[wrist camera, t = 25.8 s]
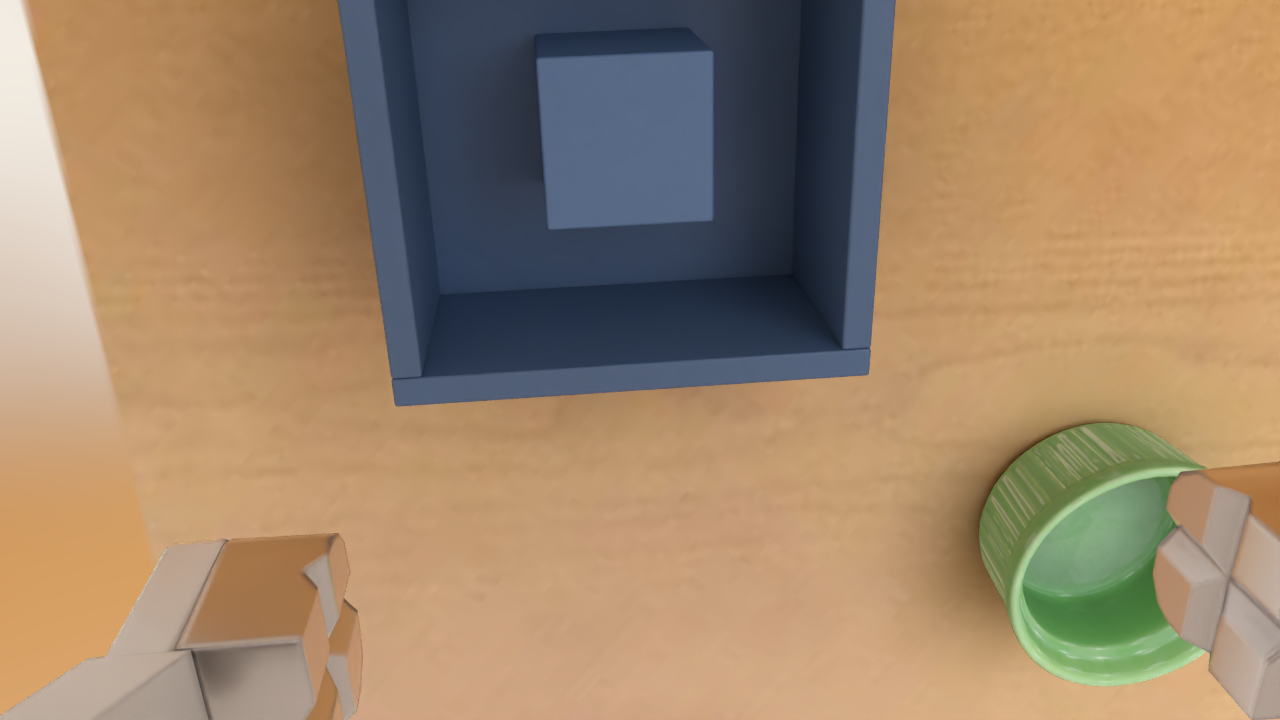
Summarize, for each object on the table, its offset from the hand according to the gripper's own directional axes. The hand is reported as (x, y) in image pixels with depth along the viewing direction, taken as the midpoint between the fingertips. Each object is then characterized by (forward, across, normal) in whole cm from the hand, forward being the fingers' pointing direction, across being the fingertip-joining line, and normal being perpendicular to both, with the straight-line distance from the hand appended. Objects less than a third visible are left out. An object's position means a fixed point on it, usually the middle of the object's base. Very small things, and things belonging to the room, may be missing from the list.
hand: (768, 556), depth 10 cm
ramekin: (+23, -17, +16) cm, 33 cm away
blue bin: (+23, 0, 0) cm, 23 cm away
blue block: (+22, 0, 0) cm, 22 cm away
